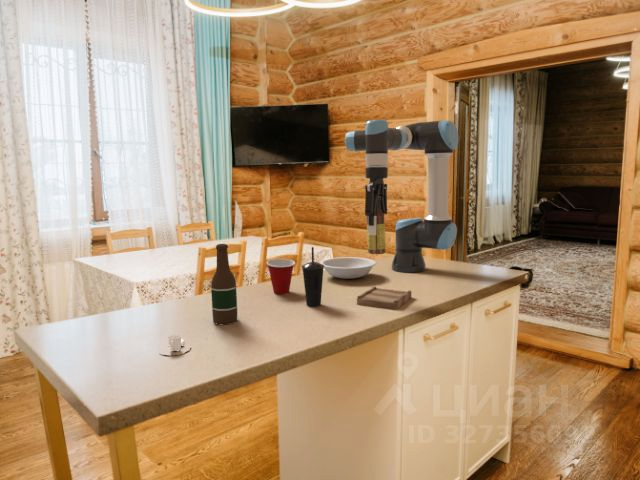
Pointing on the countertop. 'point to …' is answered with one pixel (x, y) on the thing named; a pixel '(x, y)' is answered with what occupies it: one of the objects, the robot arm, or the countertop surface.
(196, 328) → the countertop surface
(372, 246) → the sauce bottle
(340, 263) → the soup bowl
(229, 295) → the beer bottle
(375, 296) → the board
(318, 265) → the drinking cup
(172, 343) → the teacup and saucer
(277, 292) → the plastic cup
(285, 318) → the countertop surface
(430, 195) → the robot arm
